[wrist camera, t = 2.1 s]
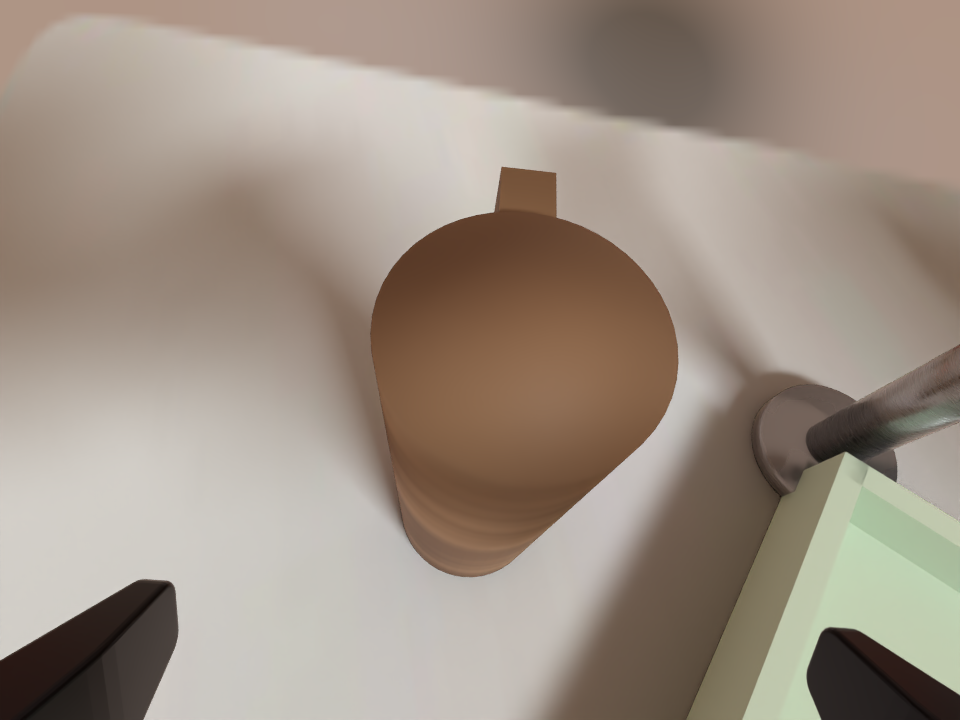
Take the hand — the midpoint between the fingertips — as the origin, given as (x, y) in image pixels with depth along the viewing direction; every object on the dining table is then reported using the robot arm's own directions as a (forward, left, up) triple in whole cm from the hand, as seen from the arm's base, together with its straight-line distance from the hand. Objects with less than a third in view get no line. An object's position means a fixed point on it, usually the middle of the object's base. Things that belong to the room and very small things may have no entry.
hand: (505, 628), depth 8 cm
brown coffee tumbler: (+3, +2, -11) cm, 11 cm away
